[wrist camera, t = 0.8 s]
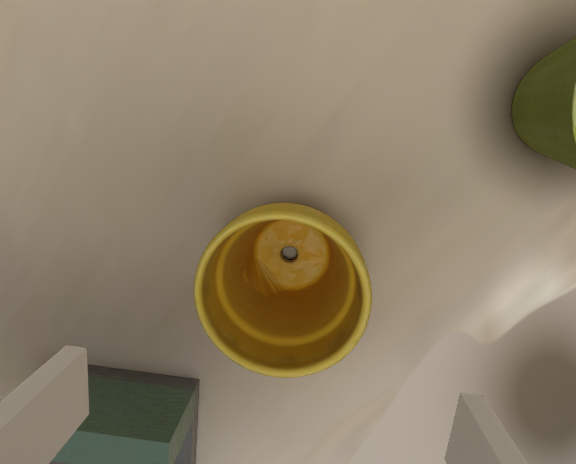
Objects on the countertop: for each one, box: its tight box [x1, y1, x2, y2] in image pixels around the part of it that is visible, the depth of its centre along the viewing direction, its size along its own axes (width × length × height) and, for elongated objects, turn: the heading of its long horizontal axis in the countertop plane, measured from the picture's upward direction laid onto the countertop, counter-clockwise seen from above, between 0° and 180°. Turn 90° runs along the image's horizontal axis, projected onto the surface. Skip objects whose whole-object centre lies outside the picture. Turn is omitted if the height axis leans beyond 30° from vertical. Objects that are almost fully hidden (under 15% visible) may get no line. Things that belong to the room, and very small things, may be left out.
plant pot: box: [194, 203, 372, 378], centre depth 27 cm, size 10×10×10 cm
